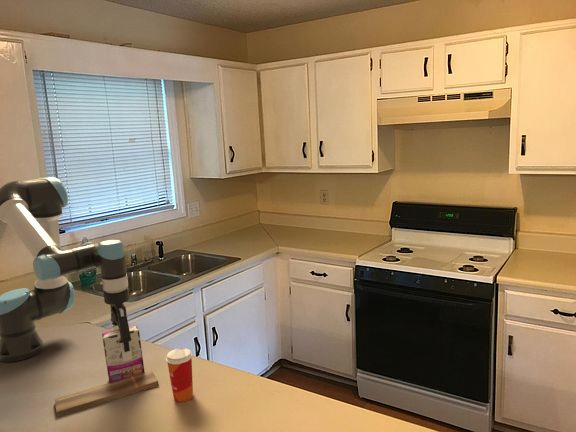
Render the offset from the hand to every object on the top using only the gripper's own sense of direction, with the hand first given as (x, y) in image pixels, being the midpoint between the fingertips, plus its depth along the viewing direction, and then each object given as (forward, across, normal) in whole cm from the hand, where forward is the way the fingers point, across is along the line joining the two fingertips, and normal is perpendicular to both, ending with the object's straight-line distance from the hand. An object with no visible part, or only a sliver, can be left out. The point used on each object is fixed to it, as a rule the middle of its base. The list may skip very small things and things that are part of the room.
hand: (123, 351), depth 152 cm
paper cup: (+9, +22, +12) cm, 27 cm away
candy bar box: (+9, 0, 0) cm, 9 cm away
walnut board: (+9, +7, -7) cm, 13 cm away
